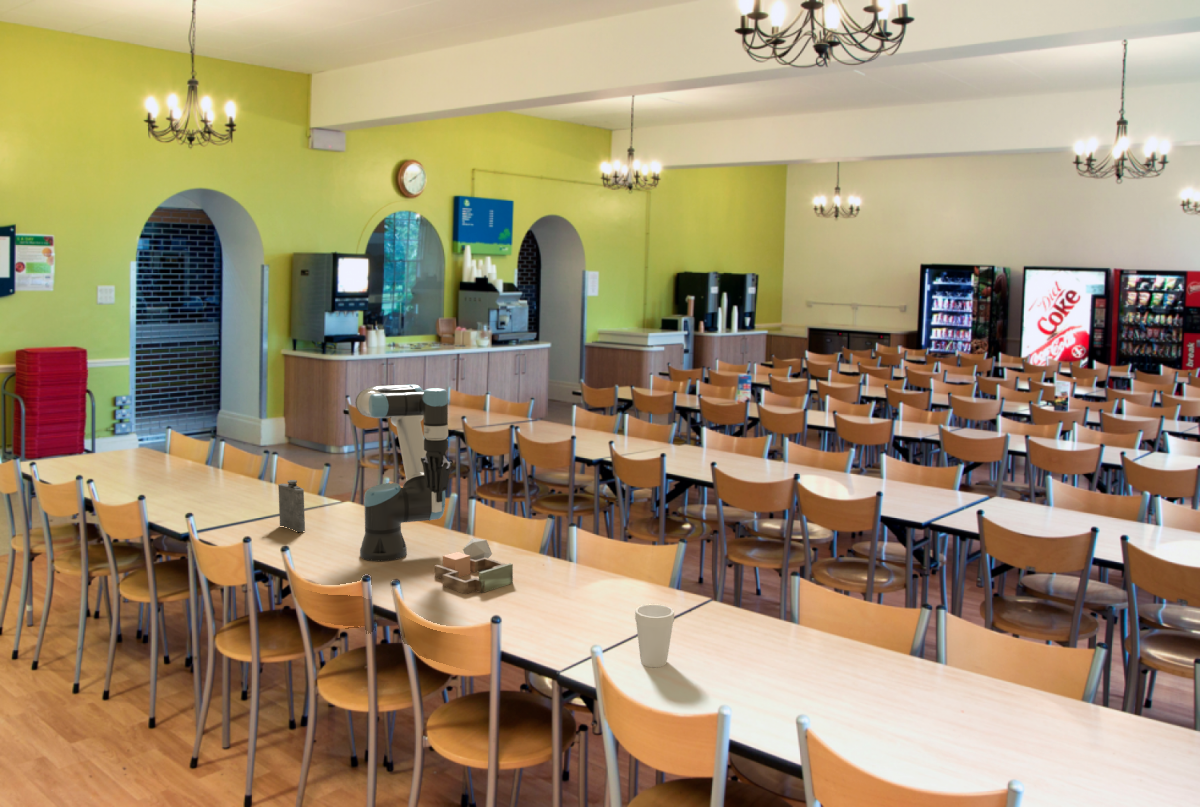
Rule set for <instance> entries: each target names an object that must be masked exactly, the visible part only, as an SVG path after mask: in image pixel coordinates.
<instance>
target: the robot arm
mask: <svg viewBox="0 0 1200 807" xmlns="http://www.w3.org/2000/svg"><path fill="white" fill-rule="evenodd" d="M448 402H449V398H448V391H447V390H446V389H445V388H437V387H435V388H426V389H424V390H423V388H422V387H421V386H420V385H418V384H410V383H406V384H397V385H393V384H389V385H373V386H370V387H368V388H365V389H363V390H362V391H360V392H359V393H358V394H357V396H356V398H355V407H356V410H357V412H359V414H361V415H362V416H363V417H368V418H373V419H390V423H391V424H392V426H394V427H396V432H397V438H398V443H399V447H400V453H401V458H402V464H403V469H404V474H405V475H404V476H405V482H404V483H403V484H402V487H401V484H399V483H397V482H396V483H395V482H391V483H389V482H388V483H387V482H385V483H381V484H376V485H374V486H371V487H369V488H368V489H366V491H365V493H364V496H363V497H364V499H363V500H364V501H363V507H364V536H363V537H362V538H363V539H362V541H361V542H362V543H361V546H360V548H359V556H360V558H361V559H363V560H365V561H369V562H389V561H390V562H391V561H395V560H399V559H403V558H404V557H406V556H407V553H408V552H407V549H408V547H407V545H406V542H405V538H404V536H403V533H402V526H401V525H402V524H404V523H413V522H423V521H424V522H425V521H432V520H440V519H441V518H443V515H444V513H445V508H446V507H445V506H446V491H447V490H448V485H449V480H450V478H449V477H450V472H451V469H452V466H453V462H452V461H448V459H447V453H446V452H447V451H448V450H449V439H448V436H449V421H448V420H449V419H448V418H449V413H448V412H449V409H448V408H449V403H448ZM422 421H423V427H422Z"/></svg>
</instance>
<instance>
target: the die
mask: <svg viewBox="0 0 1200 807" xmlns="http://www.w3.org/2000/svg"><path fill="white" fill-rule="evenodd" d="M462 550H463V554H466V555H469V556H470V558H471V559H474V560H478V559H481V558H489V559H490V557H491V556H492V555H493V552H492V550H491V547H490V545H489V542H488V540H487V539H483V538H476V537H475V538H474V537H472V539H471V540H470V541H468V543H467V544H466V545H465V546H464V547H463V549H462Z"/></svg>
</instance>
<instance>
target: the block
mask: <svg viewBox="0 0 1200 807" xmlns="http://www.w3.org/2000/svg"><path fill="white" fill-rule="evenodd" d="M442 566H443V567H446V568H449V569H452V570H455V571H458V572H459V578H461V577H465V576H469V575H471V571H470V556H469V555H466V554H465V553H464V552H459V551H456V552H452V553H450V554H444V555H442Z"/></svg>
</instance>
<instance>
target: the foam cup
mask: <svg viewBox="0 0 1200 807" xmlns="http://www.w3.org/2000/svg"><path fill="white" fill-rule="evenodd" d="M634 619H635V625H636V633H637V640H638V650H639V659H640V663H641V665H643V666H645V667H648V668H660V667H661V668H662V667H664V666H665V665H667V663H668V658H669V651H670V650H669V649H670V645H671V638H672V632H673V624H674V622H675V611H674V608H672V607H670V606H668V605H666V604H665V605H664V604H659V603H658V604H657V603H651V604H649V603H648V604H642V605H639V606H637V607H636V608H635V610H634Z"/></svg>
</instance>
